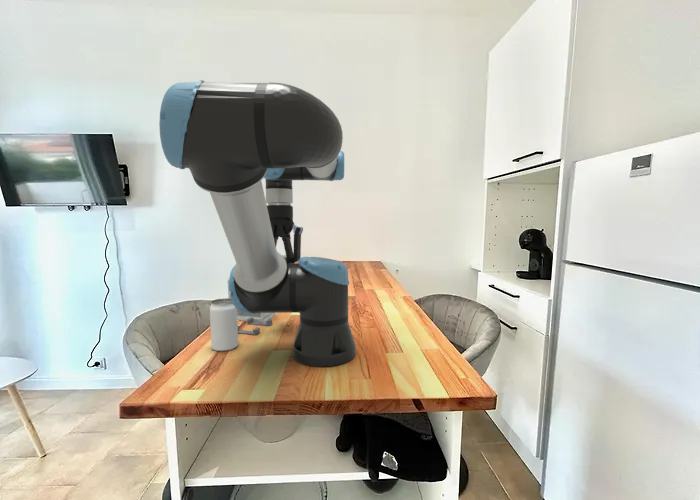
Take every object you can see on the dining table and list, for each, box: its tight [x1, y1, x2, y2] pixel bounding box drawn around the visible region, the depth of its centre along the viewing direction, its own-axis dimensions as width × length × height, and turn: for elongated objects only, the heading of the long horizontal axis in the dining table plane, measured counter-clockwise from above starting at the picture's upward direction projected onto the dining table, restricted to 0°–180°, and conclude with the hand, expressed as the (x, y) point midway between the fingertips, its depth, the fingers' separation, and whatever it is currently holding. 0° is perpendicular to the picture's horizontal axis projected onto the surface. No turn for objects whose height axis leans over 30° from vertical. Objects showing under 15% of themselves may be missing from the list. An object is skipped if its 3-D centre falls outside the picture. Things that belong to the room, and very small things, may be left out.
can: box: [209, 297, 239, 352], centre depth 89 cm, size 6×6×12 cm
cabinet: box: [227, 278, 276, 336], centre depth 108 cm, size 18×15×13 cm
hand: (280, 285), depth 103 cm, fingers closed on door, 4 cm apart
